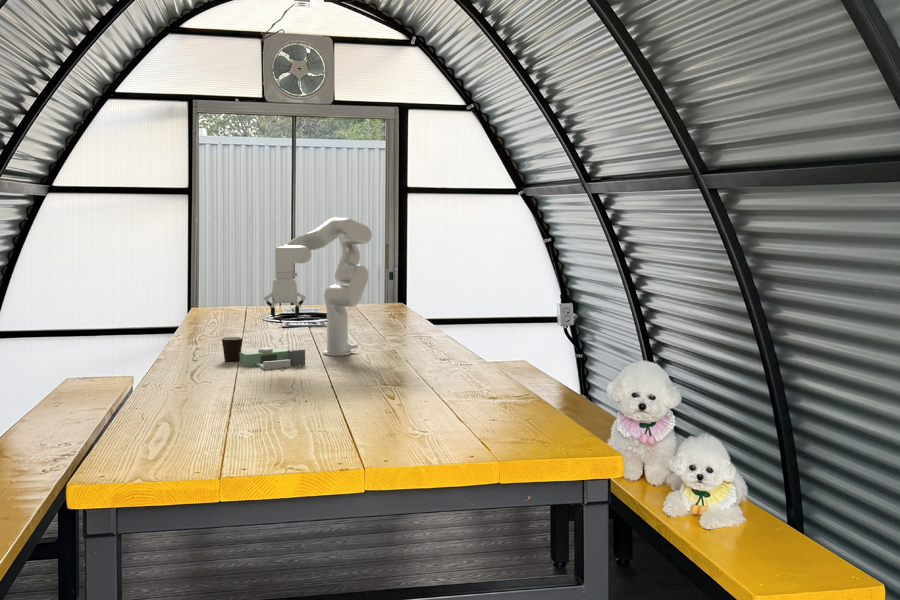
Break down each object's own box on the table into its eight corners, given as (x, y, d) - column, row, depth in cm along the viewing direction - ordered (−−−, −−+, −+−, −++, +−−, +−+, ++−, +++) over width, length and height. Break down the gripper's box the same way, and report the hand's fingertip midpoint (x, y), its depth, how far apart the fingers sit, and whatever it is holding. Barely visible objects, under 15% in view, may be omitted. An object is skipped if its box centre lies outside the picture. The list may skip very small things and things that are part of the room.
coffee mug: (237, 363, 343) (236, 340, 342) (218, 362, 344) (218, 339, 343) (249, 358, 354) (248, 336, 353) (231, 357, 356) (230, 335, 355)
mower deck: (284, 359, 353) (284, 345, 352) (300, 366, 338) (300, 351, 337) (239, 363, 342) (239, 349, 342) (253, 370, 327) (253, 355, 326)
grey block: (299, 362, 345) (298, 347, 345) (305, 365, 340) (305, 349, 339) (287, 363, 343) (287, 348, 342) (294, 366, 337) (293, 350, 336)
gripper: (303, 275, 344) (303, 314, 346) (262, 275, 338) (263, 316, 340) (306, 276, 337) (307, 316, 339) (264, 277, 331) (265, 318, 333)
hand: (285, 316), depth 340 cm, fingers open, 9 cm apart
